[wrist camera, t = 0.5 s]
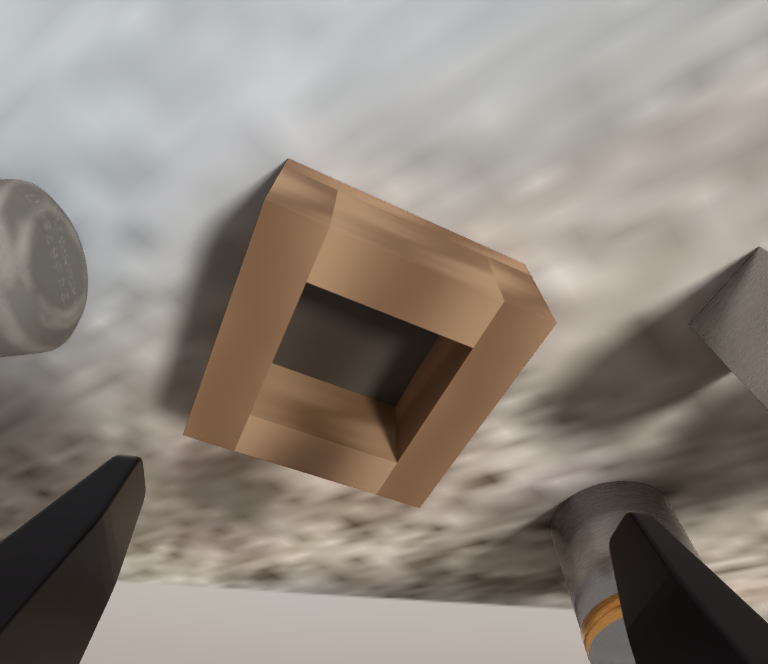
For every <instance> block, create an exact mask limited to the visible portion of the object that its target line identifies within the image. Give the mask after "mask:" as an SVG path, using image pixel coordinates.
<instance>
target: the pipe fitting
mask: <svg viewBox="0 0 768 664" xmlns="http://www.w3.org/2000/svg"><path fill="white" fill-rule="evenodd" d="M87 291H88V275H87V266H86V260H85V256H84V252H83V248H82V245H81V242H80V240H79V237H78V235H77V232H76V230H75V228H74V226H73V225H72V223H71V221H70V220H69V218H68V217H67V215H66V214H65V213H64V211H63V210H62V209H61V208H60V206H59V205H58V204H57V203H56V202H55V201H54V200H53V199H52V198H51V197H50V196H49V195H48V194H47V193H46V192H45V191H44V190H42V189H41V188H39V187H38V186H36V185H34V184H32V183H30V182H27V181H22V180H12V179H4V180H0V357H5V356H16V355H25V354H34V353H41V352H46V351H50V350H53V349H55V348H57V347H59V346H61V345H62V344H63V343H65V342H66V341H67V340H68V338H69V337H70V336H71V334H72V333H73V331H74V329H75V328H76V326H77V324H78V322H79V320H80V318H81V316H82V314H83V311H84V308H85V304H86V300H87Z"/></svg>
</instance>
